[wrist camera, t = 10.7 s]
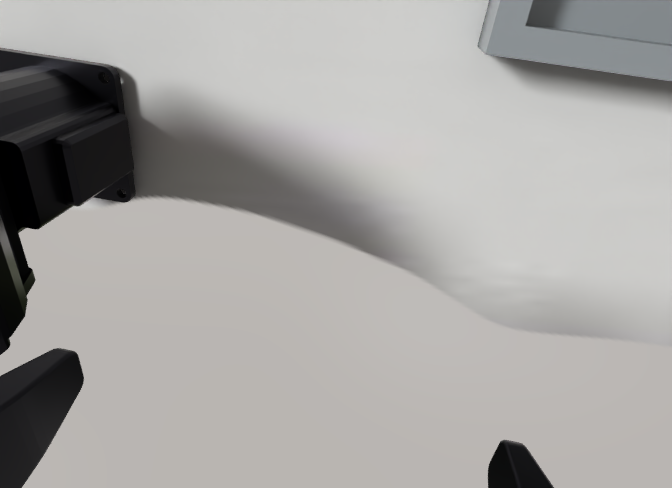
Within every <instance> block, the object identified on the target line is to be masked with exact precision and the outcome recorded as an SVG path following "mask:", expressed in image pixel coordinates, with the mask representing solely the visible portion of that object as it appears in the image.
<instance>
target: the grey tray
mask: <svg viewBox="0 0 672 488" xmlns="http://www.w3.org/2000/svg"><path fill="white" fill-rule="evenodd" d="M478 47H479V48H480V49H481V50H482V51H483V52H484V53H485V54H486V55H493V56H500V57H507V58H514V59H521V60H528V61H535V62H541V63H548V64H555V65H562V66H569V67H576V68H583V69H590V70H597V71H604V72H610V73H617V74H624V75H631V76H638V77H645V78H652V79H659V80H666V81H672V0H489V4H488V8H487V12H486V16H485V19H484V23H483V27H482V31H481V35H480V39H479V42H478Z"/></svg>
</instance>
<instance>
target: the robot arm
mask: <svg viewBox="0 0 672 488" xmlns="http://www.w3.org/2000/svg"><path fill="white" fill-rule="evenodd" d="M104 73H106V74H107V75H108V77H109V82H107V81H106V80H105V78H104ZM133 168H134V166H133V158H132V151H131V143H130V136H129V128H128V121H127V119H126V117H125V112H124V105H123V98H122V90H121V83H120V77H119V74H118V72H117V71H116V69H115V68H113V67H112V66H110V65H107V64H101V63H95V62H88V61H82V60H75V59H69V58H63V57H56V56H50V55H43V54H37V53H30V52H24V51H18V50H11V49H5V48H0V355H1V354H2V353H3V352H5V351H6V350H7V349H8V348H9V346H10V340H9V337H11V336H12V334H13V333H14V331H15V330H16V328H17V327H18V326H19V324H20V322H21V321H22V320H23V318H24V317H25V313H26V306H27V294H28V292H29V291H30V289H31V287H32V286H33V284H34V282H35V277H34V274H33V270H32V269H31V268H29V267H28V264H27V261H26V258H25V254H24V251H23V247H22V244H21V241H20V238H19V234H18V233H19V232H20V231H22V230H23V229H25V228H31V229H39V228H41V227H42V226H44V225H45V224H47V223H48V222H50V221H51V220H53V219H54V218H56V217H58V216H59V215H61V214H62V213H64V212H65V211H67V210H68V209H70V208H71V207H73V206H81V205H82V204H84V203H85V202H87V201H88V200H90V199H91V198H93V197H95V198H101V199H106V200H112V201H118V202H128V201H130V200H131V199H132V198H133V197H134V196H135V187H134V179H133V172H132V170H133ZM121 189H123V190H124V191H125V192H126V194H124V193H123V192H122V191H121ZM83 381H84V377H83V373H82V368H81V365H80V361H79V357H78V354H77V353H76V352H74V351H71V350H66V349H61V348H60V349H59V348H57V349H53V350H51V351H49V352H47V353H45V354H43V355H41V356H39V357H37V358H35V359H33V360H31V361H29V362H27V363H25V364H23V365H21V366H19V367H17V368H15V369H13V370H11V371H9V372H8V373H5V374H3V375H1V376H0V488H22V486H23V485H24V484H25V482H26V481H27V479H28V477H29V476H30V475H31V473H32V472H33V470H34V469H35V468H36V466H37V465H38V463H39V462H40V460H41V458H42V457H43V455H44V454H45V452H46V450H47V449H48V447H49V445H50V444H51V442H52V440H53V438H54V436H55V435H56V433H57V431H58V429H59V428H60V426H61V424H62V422H63V420H64V419H65V417H66V415H67V413H68V411H69V410H70V408H71V406H72V404H73V402H74V400H75V399H76V397H77V395H78V394H79V392H80V390H81V388H82V385H83ZM488 488H554V487H553V486H552V484H551V483H550V481H549V480H548V478H547V477H546V475H545V474H544V472H543V471H542V470H541V468H540V467H539V465H538V464H537V462H536V461H535V459H534V458H533V456H532V455H531V453H530V452H529V451H528V449H527V448H526V447H525V446H524V445H523V444H521V443H518V442H513V441H509V440H503V441H501V442H500V443H499V445H498V447H497V450H496V451H495V453H494V455H493V457H492V459H491V461H490V464H489V468H488Z"/></svg>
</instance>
